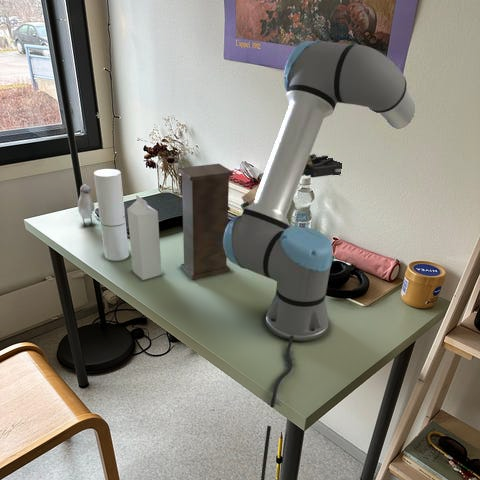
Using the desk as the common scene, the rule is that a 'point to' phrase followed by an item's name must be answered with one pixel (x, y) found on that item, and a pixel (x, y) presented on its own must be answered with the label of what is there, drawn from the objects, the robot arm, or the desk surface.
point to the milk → (144, 239)
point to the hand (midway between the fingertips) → (279, 170)
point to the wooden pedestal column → (204, 219)
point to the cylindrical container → (112, 213)
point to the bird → (85, 203)
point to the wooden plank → (252, 193)
